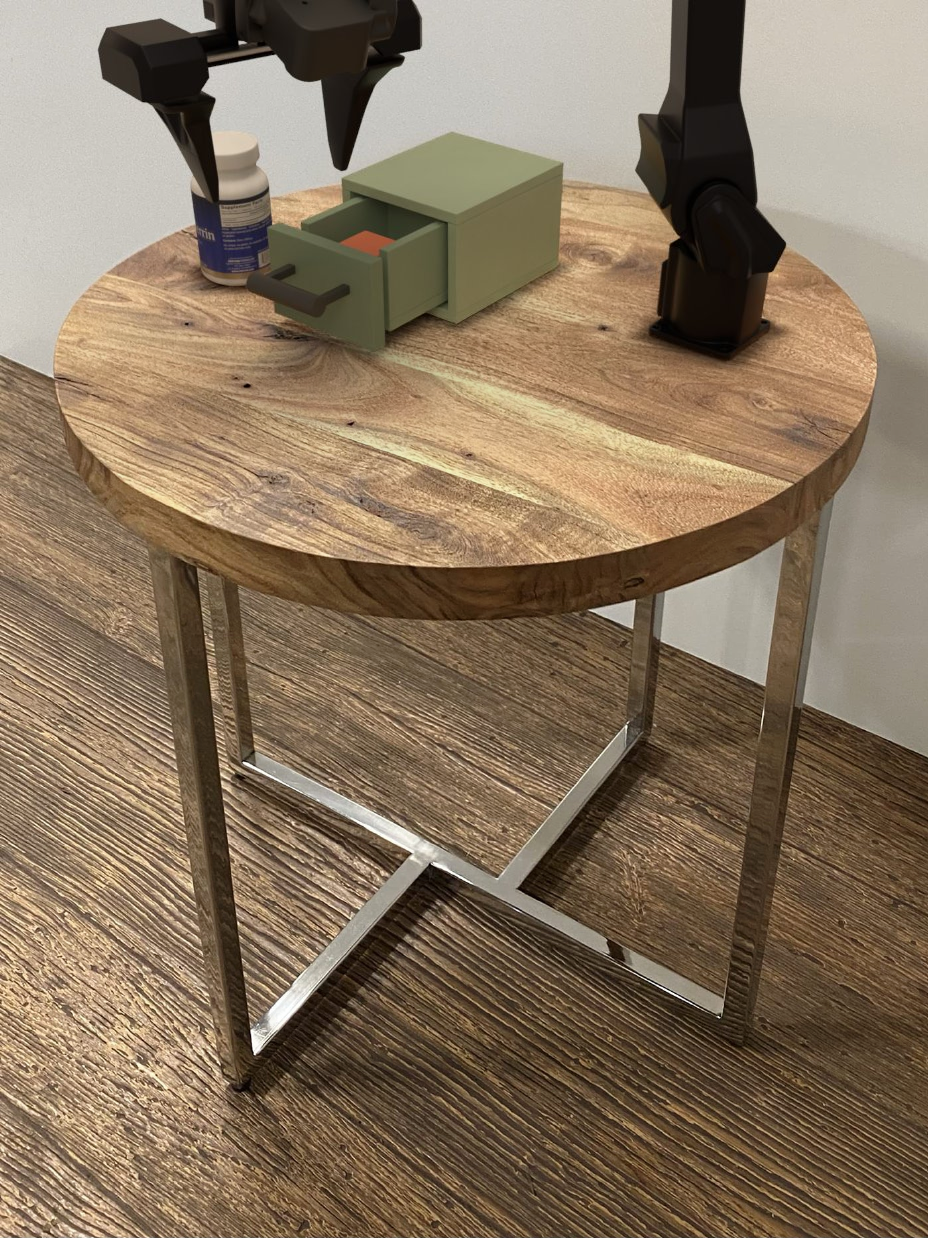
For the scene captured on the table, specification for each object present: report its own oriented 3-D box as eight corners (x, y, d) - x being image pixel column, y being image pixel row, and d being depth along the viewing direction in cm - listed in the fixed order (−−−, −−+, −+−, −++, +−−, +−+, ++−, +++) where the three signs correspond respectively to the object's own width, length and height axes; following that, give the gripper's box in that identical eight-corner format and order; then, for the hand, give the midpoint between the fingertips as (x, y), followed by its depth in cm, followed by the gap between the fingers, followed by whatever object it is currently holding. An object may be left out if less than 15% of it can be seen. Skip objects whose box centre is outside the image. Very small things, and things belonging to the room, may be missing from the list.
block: (405, 291, 93) (404, 243, 91) (371, 308, 91) (369, 259, 88) (367, 277, 95) (365, 229, 92) (333, 294, 92) (330, 245, 90)
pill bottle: (193, 263, 101) (176, 133, 95) (264, 252, 103) (252, 123, 96) (212, 293, 97) (196, 159, 91) (286, 281, 99) (275, 148, 92)
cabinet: (456, 324, 93) (456, 214, 88) (346, 283, 98) (341, 177, 93) (558, 266, 101) (563, 162, 96) (451, 231, 106) (451, 131, 101)
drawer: (334, 374, 86) (328, 284, 82) (234, 332, 90) (224, 245, 86) (478, 294, 95) (479, 210, 91) (381, 260, 100) (378, 178, 96)
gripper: (169, -45, 62) (206, 265, 72) (480, -90, 71) (475, 192, 81) (72, -86, 69) (118, 202, 79) (366, -123, 78) (374, 141, 88)
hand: (278, 184), depth 81 cm, fingers open, 9 cm apart
